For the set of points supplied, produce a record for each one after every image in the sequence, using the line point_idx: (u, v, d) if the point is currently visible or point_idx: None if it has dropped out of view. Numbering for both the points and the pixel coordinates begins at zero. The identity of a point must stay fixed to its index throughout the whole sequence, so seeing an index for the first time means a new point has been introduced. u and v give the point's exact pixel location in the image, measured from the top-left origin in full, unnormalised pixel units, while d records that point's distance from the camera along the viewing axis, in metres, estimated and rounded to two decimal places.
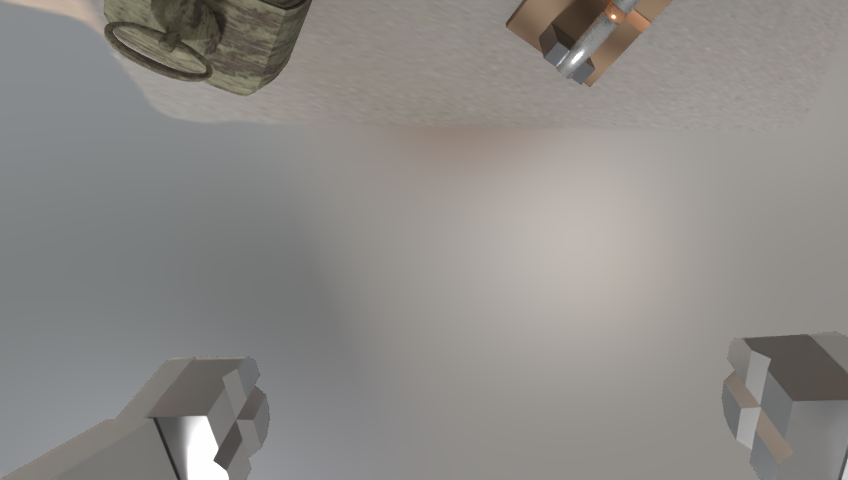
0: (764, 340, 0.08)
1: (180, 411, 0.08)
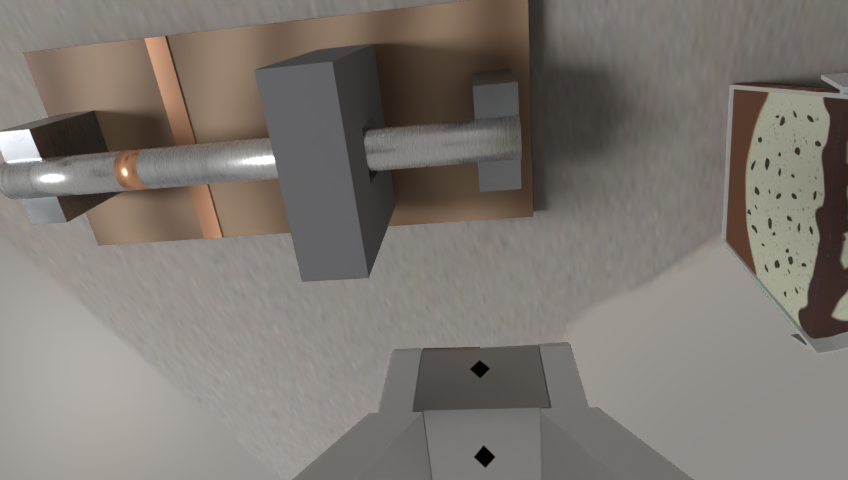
0: (498, 350, 0.08)
1: (446, 404, 0.07)
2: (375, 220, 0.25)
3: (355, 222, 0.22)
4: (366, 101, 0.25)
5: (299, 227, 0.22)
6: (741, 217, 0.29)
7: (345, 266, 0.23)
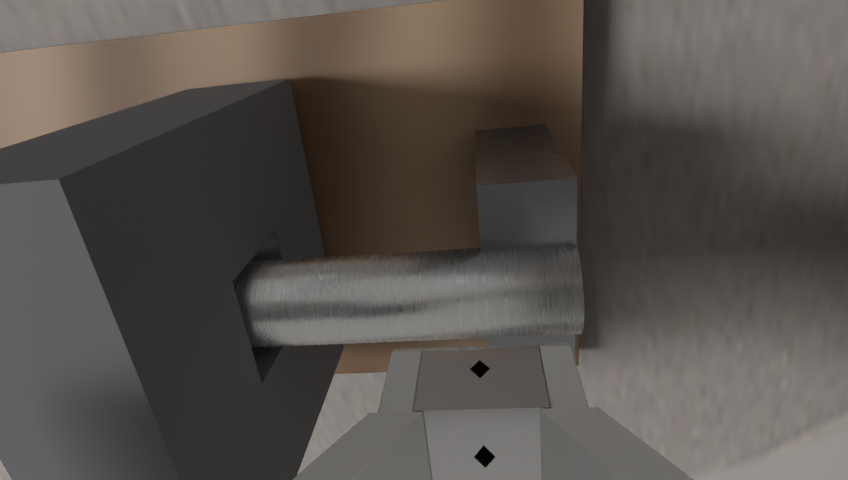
0: (498, 350, 0.08)
1: (446, 404, 0.07)
2: (277, 448, 0.12)
3: None
4: (255, 207, 0.12)
5: None
6: None
7: None
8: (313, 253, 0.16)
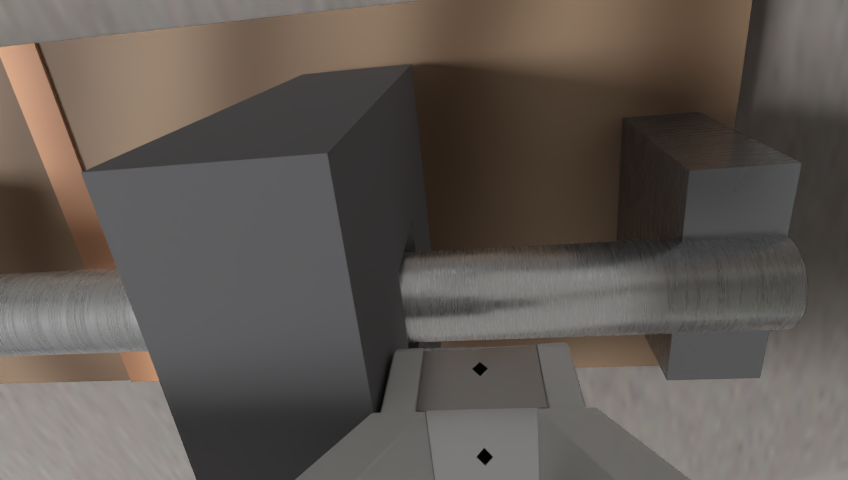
0: (495, 350, 0.08)
1: (449, 404, 0.07)
2: None
3: None
4: (403, 195, 0.11)
5: None
6: None
7: None
8: (426, 246, 0.15)
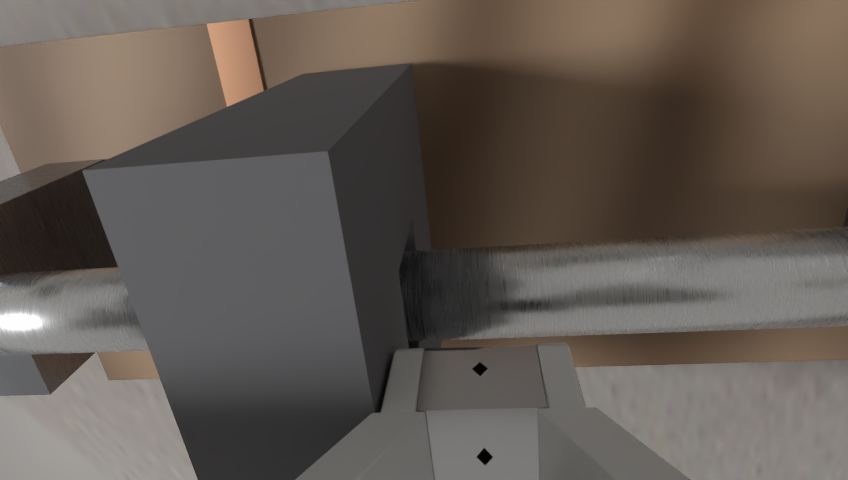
0: (495, 350, 0.08)
1: (449, 404, 0.07)
2: None
3: None
4: (404, 194, 0.11)
5: None
6: None
7: None
8: (427, 245, 0.15)
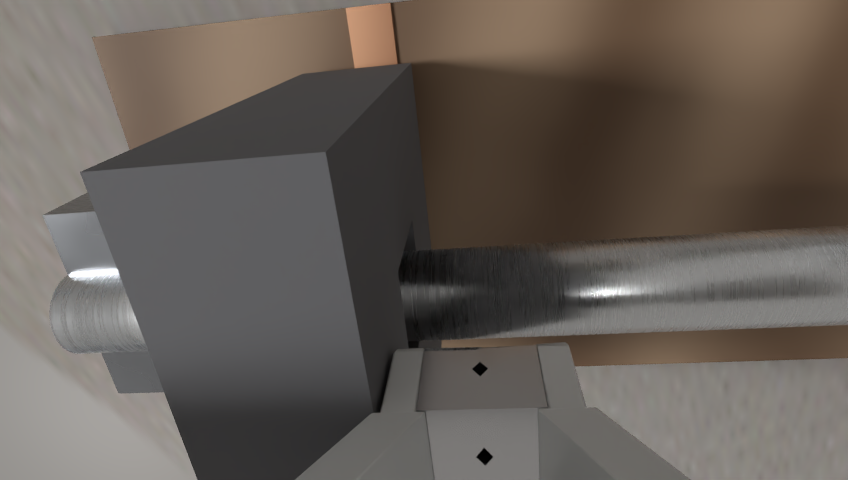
0: (496, 350, 0.08)
1: (449, 404, 0.07)
2: None
3: None
4: (403, 194, 0.11)
5: None
6: None
7: None
8: (427, 245, 0.15)
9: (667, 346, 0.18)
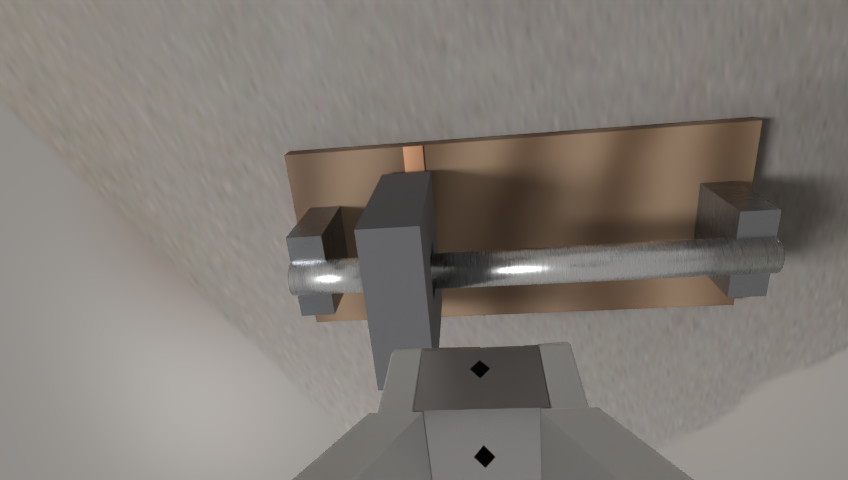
0: (498, 350, 0.08)
1: (446, 404, 0.07)
2: (436, 331, 0.29)
3: (428, 345, 0.26)
4: (430, 231, 0.29)
5: (379, 348, 0.26)
6: None
7: None
8: (436, 251, 0.33)
9: (554, 303, 0.35)
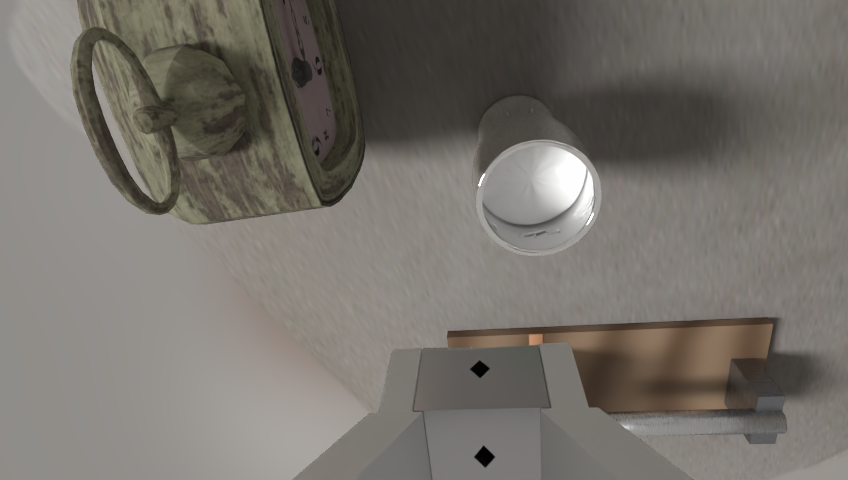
0: (497, 350, 0.08)
1: (447, 404, 0.07)
2: None
3: None
4: None
5: None
6: None
7: None
8: None
9: None
